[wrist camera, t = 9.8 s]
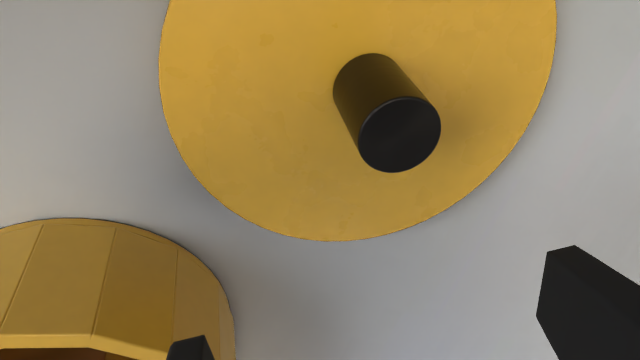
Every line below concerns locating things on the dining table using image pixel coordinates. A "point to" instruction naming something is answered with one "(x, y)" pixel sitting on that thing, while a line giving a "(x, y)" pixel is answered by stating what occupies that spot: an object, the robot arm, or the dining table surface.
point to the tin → (106, 291)
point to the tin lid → (350, 104)
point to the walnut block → (58, 354)
